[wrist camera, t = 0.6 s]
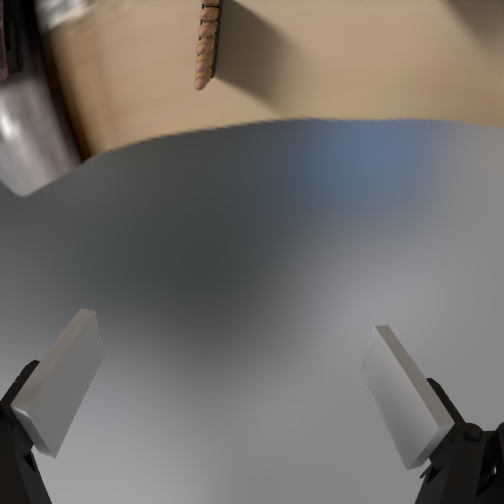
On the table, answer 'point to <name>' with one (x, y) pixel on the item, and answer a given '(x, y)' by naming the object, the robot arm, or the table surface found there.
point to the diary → (10, 39)
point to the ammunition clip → (207, 42)
